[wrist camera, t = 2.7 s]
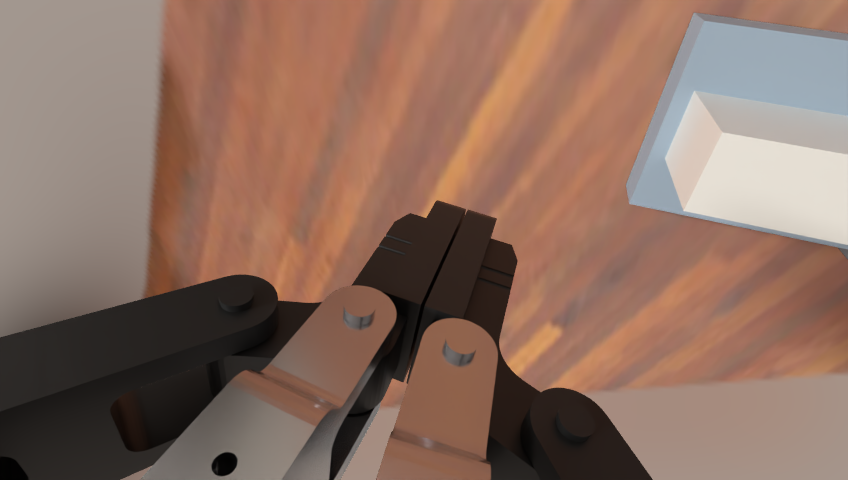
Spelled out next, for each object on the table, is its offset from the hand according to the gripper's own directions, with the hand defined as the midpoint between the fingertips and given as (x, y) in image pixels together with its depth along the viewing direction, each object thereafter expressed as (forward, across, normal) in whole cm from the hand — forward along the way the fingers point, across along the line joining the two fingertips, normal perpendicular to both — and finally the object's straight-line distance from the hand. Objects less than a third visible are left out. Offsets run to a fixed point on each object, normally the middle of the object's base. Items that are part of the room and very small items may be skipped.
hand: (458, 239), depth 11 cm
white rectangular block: (+22, -15, +2) cm, 27 cm away
